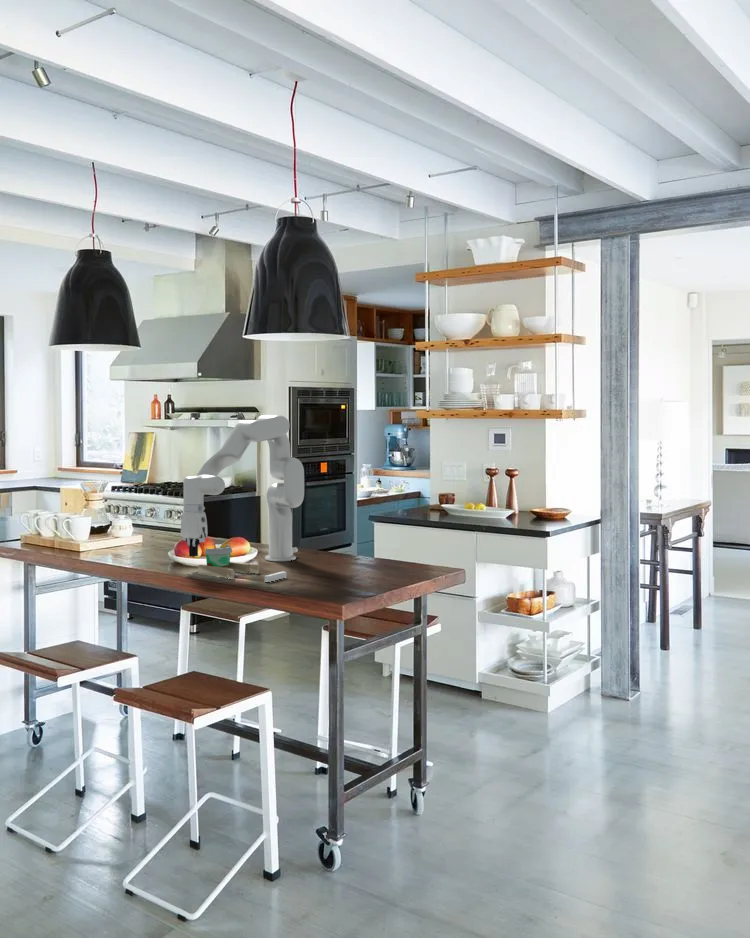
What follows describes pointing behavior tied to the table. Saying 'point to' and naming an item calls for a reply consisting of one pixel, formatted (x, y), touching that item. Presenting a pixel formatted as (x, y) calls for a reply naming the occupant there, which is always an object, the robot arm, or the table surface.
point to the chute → (228, 569)
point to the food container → (218, 556)
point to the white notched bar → (275, 576)
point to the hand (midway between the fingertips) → (193, 556)
